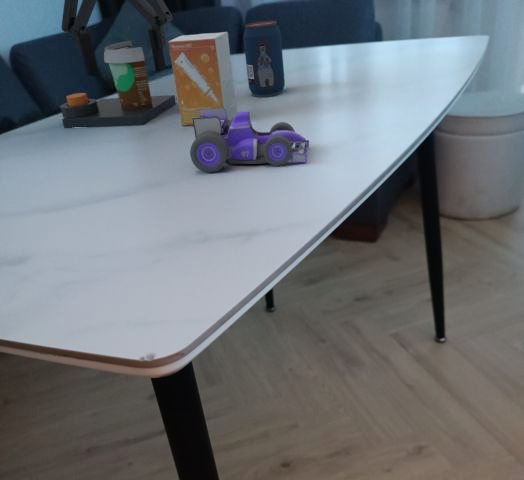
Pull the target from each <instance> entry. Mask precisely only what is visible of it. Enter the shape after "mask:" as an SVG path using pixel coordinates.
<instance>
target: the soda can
mask: <svg viewBox="0 0 524 480" xmlns="http://www.w3.org/2000/svg"><path fill="white" fill-rule="evenodd" d="M277 23H278V22H277V20H261V21H260V20H259V21H255V22H254V21H253V22H250V23H247V24H245V26H244V27H245V29H244V32H243V45H244V47H243V48H244V56H245V63H246V64H245V66H246V74H247V84H248V89H249V91H250V92H251V94H252V96H254V97H259V98H260V97H261V98H264V97H271V96H272V97H273V96H276V95H280V94H281V93H282V92H283V90H284V88H285V85H286V82H285V81H286V80H285V69H284V56H283V45H282V33H281V30H280V28H279V26H278V24H277Z"/></svg>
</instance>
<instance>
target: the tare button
mask: <svg viewBox="0 0 524 480" xmlns="http://www.w3.org/2000/svg"><path fill="white" fill-rule="evenodd" d="M65 99H66V103H67V102H68V105H69V106H79V105H83V104H87V103H88V99H89V98H88V96H87V93H86V92H78V93H72V94H68V95H66V98H65Z"/></svg>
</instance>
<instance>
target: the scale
mask: <svg viewBox="0 0 524 480" xmlns="http://www.w3.org/2000/svg"><path fill="white" fill-rule="evenodd" d="M87 99H88V103H87V104H83V105H79V106H69V105H68V102H67V101H66V102H64V103H63V104H61V105H60V106H59V108H60V112H61V114H62V118H61V121H62V124H63V125H62V126H63V128H64V129H75V128H74V127H87V128H110V127H111V128H112V127H137V126H138V127H139V126H145V125H146V124H148V123H150V122H151V121H153V120H154V119H155V118H157V117H158V116H160V115H162V114H163V113H164V112H166V111H168V110H169V109H171V108H172V107H174V106H175V105H177V102H176V97H175V94H169V95H168V94H166V95H151V100H152V105H153V108H148V109H139V110H127V109H123V108H122V107H121V103H120V100H119V97H112V98H111V97H109V98H101V99H99V100H97V99H95V98H87ZM72 127H73V128H72Z"/></svg>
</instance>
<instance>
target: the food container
mask: <svg viewBox="0 0 524 480" xmlns="http://www.w3.org/2000/svg"><path fill="white" fill-rule="evenodd" d="M145 61H146V60H145V55H144V51H143V47H142V46H138V47H137V46H133V43H132V40H125V41H121V42H117V43H112V44H110V45H107V46H104V52H103V62H104V63H106V64H108V66H109V69H110V72H111V76H112V80H113V83H114V87H115V89H116V92H117V96H118V98H119V100H120V103H121V107H122V108H123V109H127V110H139V109H148V108H153V105H152V100H151V96H152V94H151V90H150V83H149V79H148V74H147V73H148V72H147V67H146V62H145Z"/></svg>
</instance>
